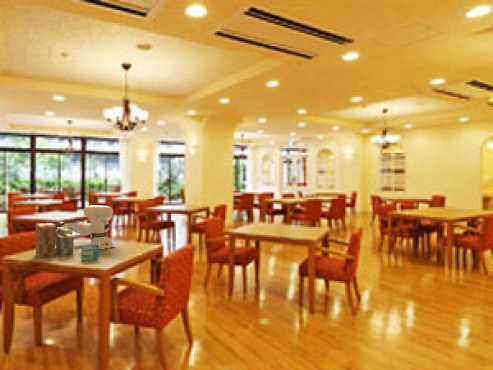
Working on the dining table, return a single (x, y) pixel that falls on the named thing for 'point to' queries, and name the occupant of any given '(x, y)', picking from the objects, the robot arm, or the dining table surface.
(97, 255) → the data package
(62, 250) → the grey marbled block
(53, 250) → the tall stand
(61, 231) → the sanding stick
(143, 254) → the dining table surface
